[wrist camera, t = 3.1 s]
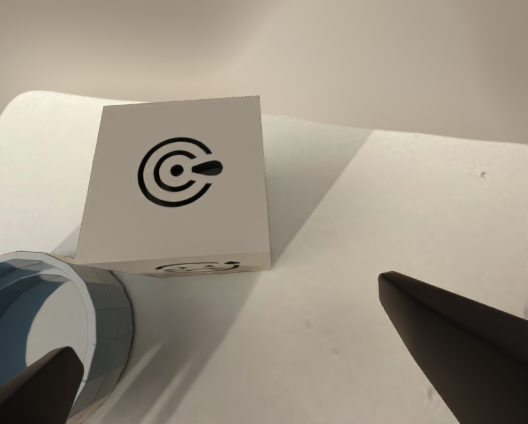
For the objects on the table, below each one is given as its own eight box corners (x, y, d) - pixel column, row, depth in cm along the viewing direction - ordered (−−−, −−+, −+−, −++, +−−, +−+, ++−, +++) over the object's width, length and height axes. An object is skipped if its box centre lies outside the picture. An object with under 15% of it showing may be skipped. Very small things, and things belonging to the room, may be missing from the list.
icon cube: (263, 170, 25) (259, 95, 16) (270, 270, 22) (270, 251, 12) (166, 177, 25) (103, 106, 16) (158, 277, 22) (73, 264, 12)
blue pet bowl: (74, 473, 18) (2, 539, 13) (-61, 390, 19) (-168, 422, 15) (164, 294, 21) (134, 293, 17) (44, 239, 23) (-14, 225, 18)
